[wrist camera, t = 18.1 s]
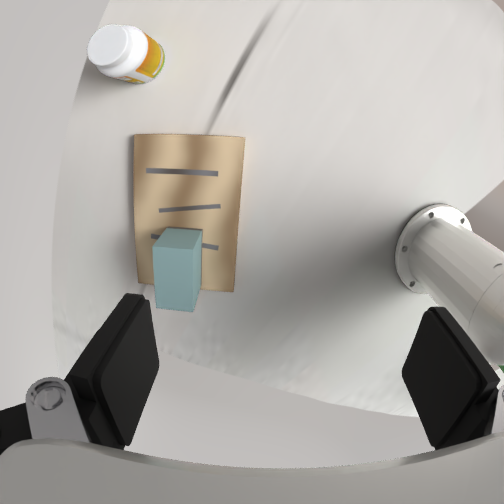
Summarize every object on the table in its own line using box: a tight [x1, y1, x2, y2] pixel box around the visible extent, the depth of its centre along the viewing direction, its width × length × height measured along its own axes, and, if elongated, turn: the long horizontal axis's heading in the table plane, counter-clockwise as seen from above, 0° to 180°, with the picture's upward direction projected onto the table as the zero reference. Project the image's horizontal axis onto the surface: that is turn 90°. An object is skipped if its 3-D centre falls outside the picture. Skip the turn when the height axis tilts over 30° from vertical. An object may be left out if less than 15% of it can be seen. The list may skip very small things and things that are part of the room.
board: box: [134, 134, 245, 292], centre depth 34 cm, size 12×18×1 cm, turn 175°
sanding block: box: [152, 226, 203, 312], centre depth 33 cm, size 7×4×6 cm, turn 175°
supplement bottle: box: [87, 24, 166, 84], centre depth 23 cm, size 5×5×10 cm
